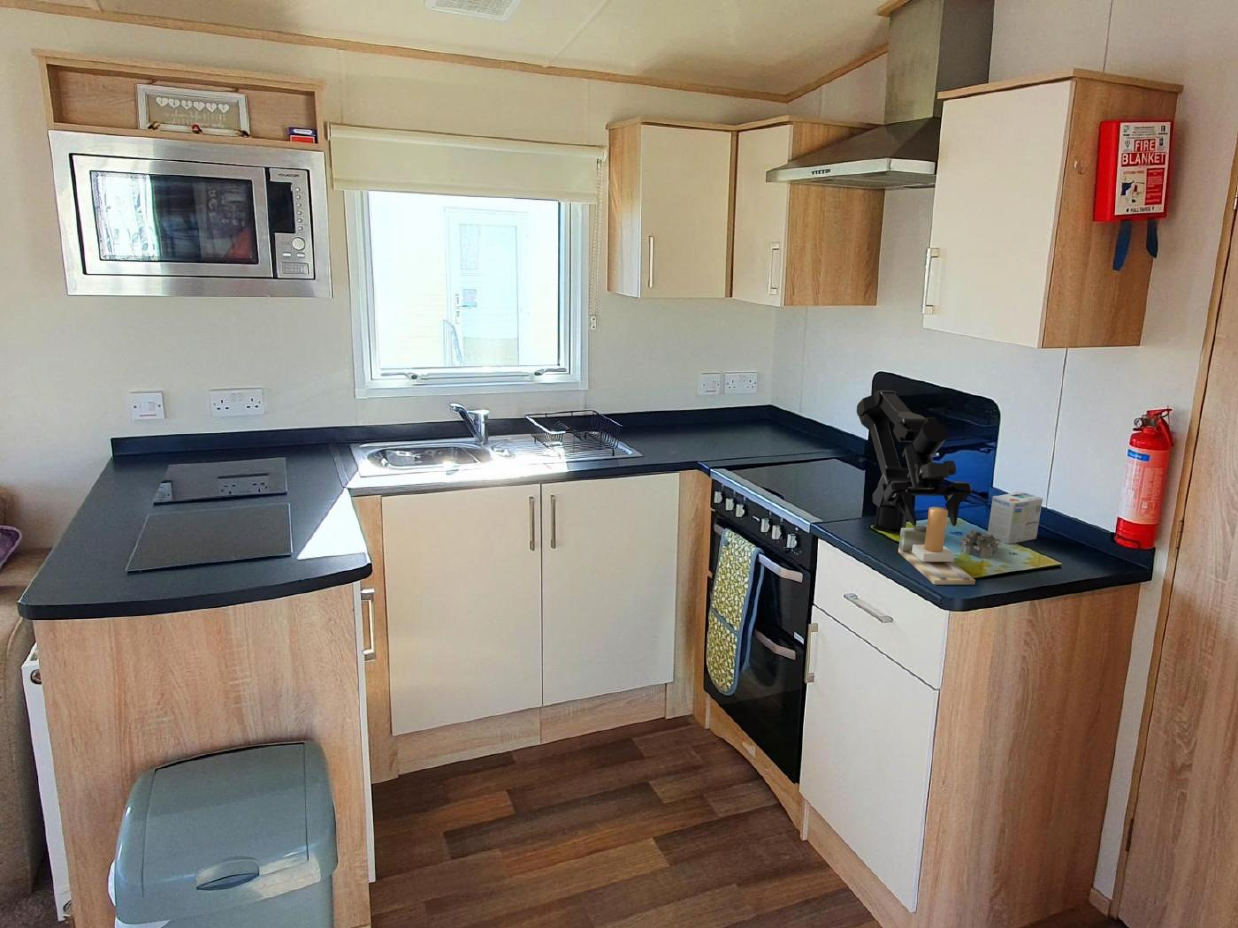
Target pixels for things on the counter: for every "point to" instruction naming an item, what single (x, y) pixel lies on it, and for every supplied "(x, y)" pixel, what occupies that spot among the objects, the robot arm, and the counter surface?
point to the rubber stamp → (934, 538)
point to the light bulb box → (1015, 517)
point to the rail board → (930, 570)
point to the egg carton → (979, 544)
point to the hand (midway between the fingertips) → (934, 525)
